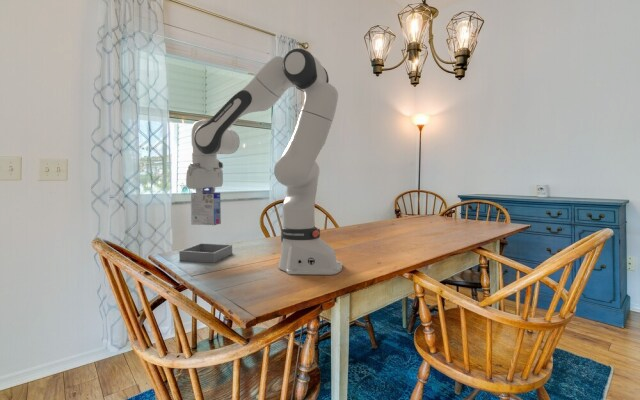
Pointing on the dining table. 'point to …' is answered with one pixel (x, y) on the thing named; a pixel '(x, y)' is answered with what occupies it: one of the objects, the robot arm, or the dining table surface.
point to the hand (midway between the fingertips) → (206, 199)
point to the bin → (205, 252)
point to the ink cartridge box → (206, 208)
